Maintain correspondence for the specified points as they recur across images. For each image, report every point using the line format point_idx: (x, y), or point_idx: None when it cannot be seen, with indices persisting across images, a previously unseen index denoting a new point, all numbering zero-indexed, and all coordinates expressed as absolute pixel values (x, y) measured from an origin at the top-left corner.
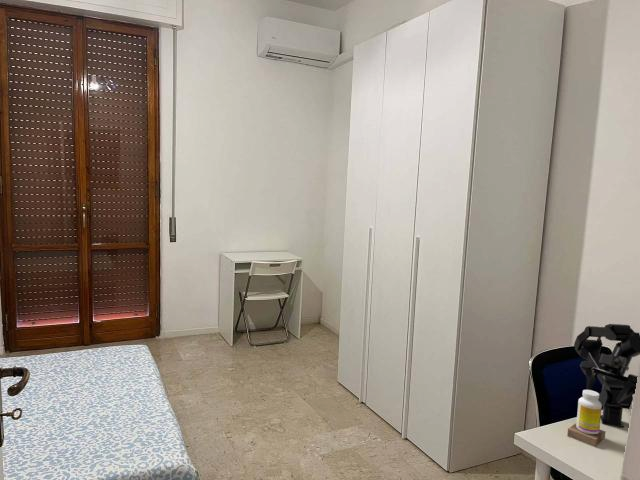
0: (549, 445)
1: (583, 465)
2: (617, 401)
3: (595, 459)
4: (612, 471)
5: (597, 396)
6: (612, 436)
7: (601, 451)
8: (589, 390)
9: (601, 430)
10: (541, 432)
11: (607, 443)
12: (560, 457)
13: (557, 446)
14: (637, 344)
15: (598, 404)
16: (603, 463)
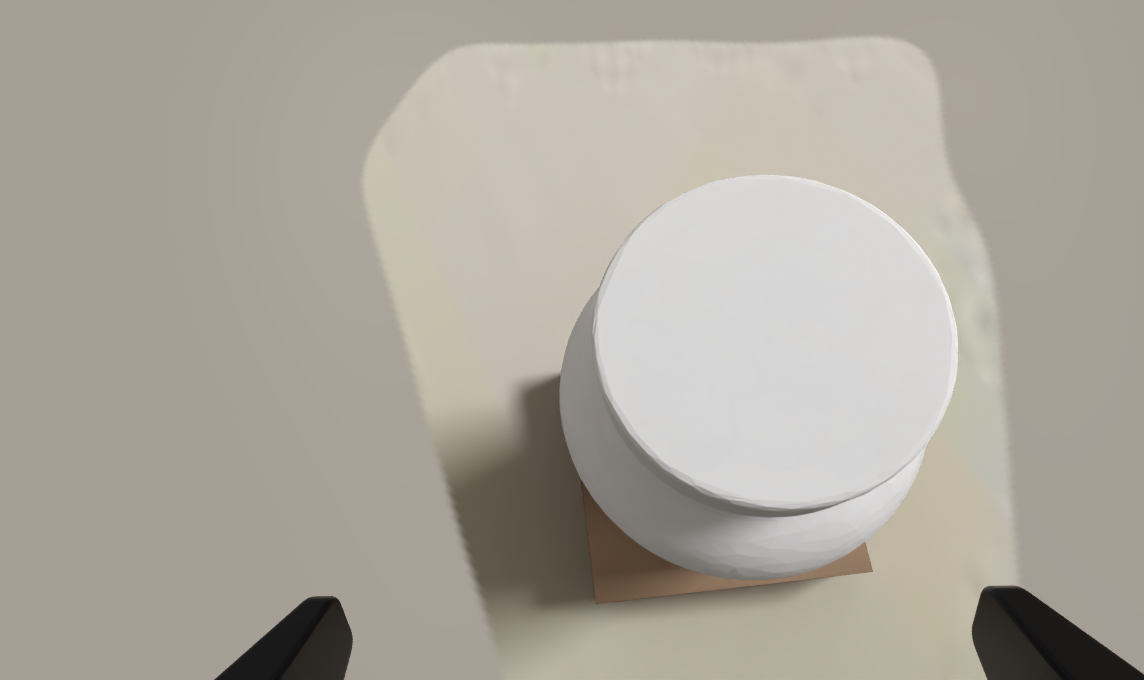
0: (755, 103)
1: (502, 93)
2: (309, 603)
3: (492, 214)
4: (373, 182)
5: (596, 311)
6: None
7: (517, 351)
8: (877, 427)
9: (628, 585)
10: (924, 204)
11: (550, 527)
12: (625, 50)
13: (720, 138)
14: None
15: (577, 355)
16: (441, 216)
